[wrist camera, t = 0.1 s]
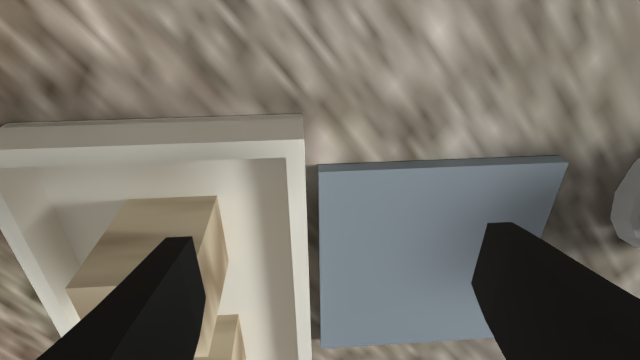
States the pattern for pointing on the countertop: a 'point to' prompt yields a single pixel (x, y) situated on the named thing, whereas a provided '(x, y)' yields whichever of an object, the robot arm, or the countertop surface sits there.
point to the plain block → (226, 340)
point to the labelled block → (142, 238)
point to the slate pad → (418, 242)
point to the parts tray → (164, 182)
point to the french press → (628, 207)
